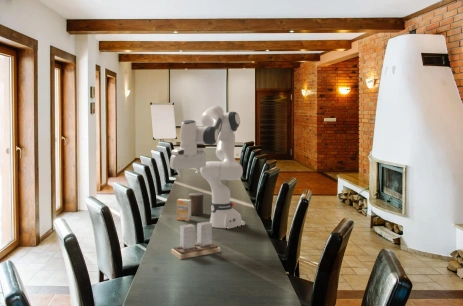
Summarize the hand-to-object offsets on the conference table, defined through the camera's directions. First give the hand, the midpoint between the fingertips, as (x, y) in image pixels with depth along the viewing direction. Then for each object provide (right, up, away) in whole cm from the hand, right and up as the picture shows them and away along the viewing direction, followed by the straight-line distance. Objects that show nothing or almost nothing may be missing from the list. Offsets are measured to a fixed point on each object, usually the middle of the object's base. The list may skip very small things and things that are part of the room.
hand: (188, 176), depth 236 cm
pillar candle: (-1, -29, +59) cm, 65 cm away
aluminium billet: (+10, -34, -17) cm, 40 cm away
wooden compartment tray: (+6, -36, -20) cm, 42 cm away
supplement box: (-7, -30, +43) cm, 53 cm away
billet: (+2, -35, -22) cm, 41 cm away
